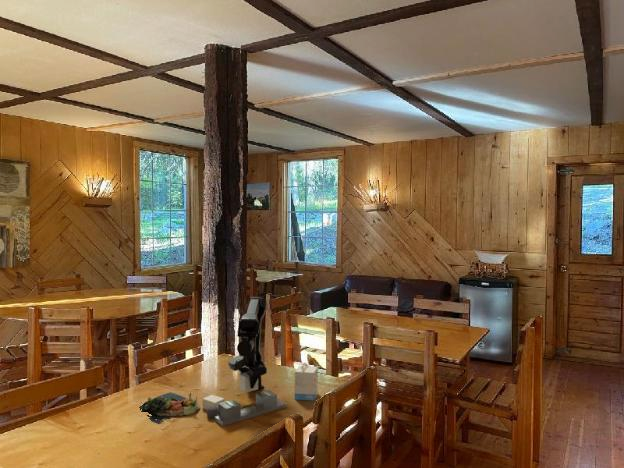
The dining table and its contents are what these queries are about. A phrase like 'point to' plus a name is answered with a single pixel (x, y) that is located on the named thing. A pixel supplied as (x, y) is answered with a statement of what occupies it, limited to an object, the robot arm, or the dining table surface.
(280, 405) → the rail
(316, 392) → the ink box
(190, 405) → the plated dish
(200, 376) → the dining table surface
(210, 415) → the black knob
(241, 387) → the loose module
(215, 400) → the block
